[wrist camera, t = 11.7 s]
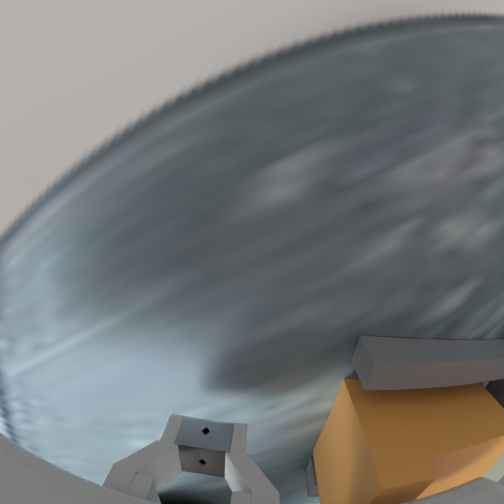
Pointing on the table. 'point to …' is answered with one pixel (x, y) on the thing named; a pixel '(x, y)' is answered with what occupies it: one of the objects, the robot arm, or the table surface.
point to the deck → (427, 373)
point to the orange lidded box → (405, 442)
